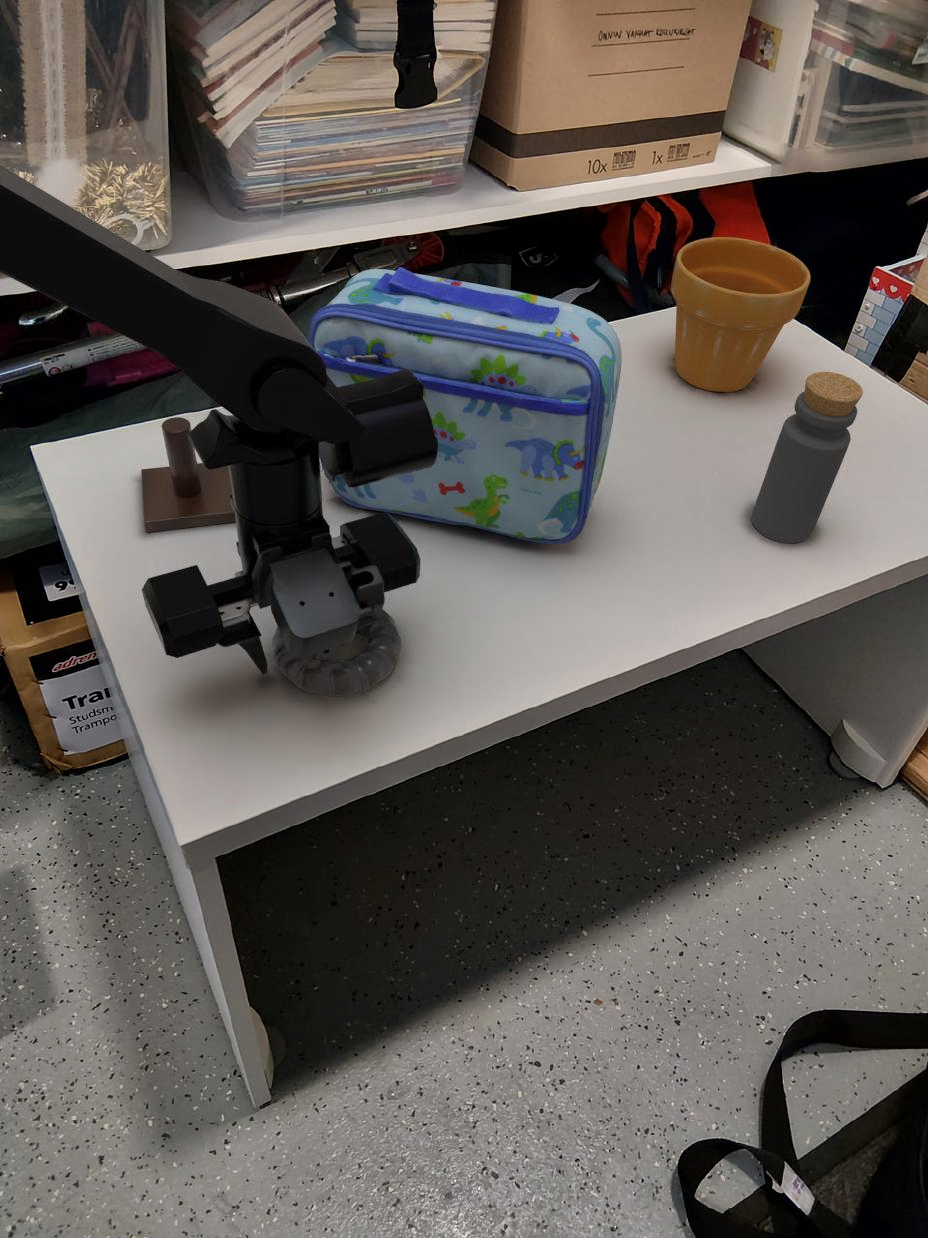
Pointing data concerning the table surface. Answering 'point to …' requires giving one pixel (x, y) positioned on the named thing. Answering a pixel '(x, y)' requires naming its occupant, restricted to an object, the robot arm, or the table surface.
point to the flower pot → (732, 308)
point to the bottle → (807, 458)
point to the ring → (344, 662)
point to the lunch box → (482, 398)
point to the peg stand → (184, 486)
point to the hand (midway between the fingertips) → (293, 660)
